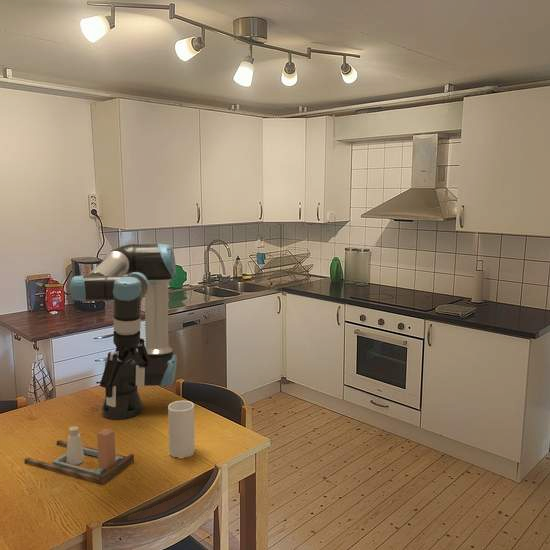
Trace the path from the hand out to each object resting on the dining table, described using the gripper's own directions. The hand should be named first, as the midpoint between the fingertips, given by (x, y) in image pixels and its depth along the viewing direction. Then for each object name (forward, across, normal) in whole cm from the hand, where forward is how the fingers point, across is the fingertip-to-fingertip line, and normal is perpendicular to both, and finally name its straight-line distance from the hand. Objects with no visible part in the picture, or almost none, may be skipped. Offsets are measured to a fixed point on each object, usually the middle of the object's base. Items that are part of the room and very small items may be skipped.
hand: (126, 395), depth 153 cm
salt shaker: (+25, +6, -14) cm, 29 cm away
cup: (+23, -12, +14) cm, 29 cm away
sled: (+23, +6, -9) cm, 26 cm away
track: (+24, +6, -12) cm, 28 cm away
